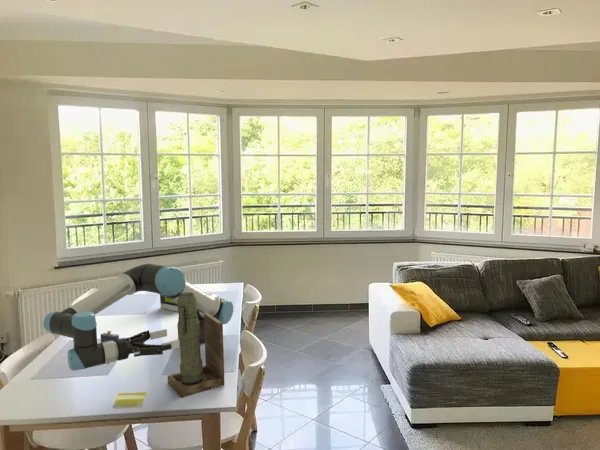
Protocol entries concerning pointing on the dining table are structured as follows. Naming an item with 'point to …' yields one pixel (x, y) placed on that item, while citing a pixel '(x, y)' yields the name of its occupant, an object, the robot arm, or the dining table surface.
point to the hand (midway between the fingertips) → (172, 337)
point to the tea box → (168, 303)
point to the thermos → (189, 339)
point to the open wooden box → (214, 361)
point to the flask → (109, 337)
